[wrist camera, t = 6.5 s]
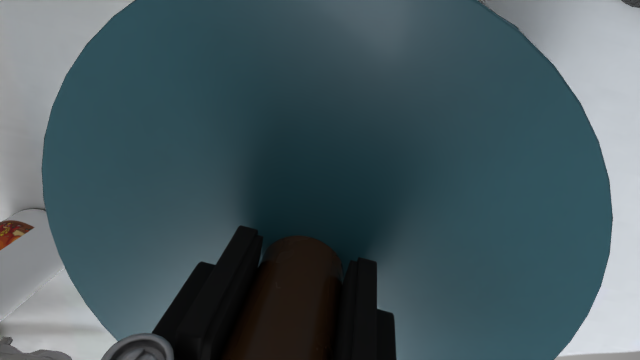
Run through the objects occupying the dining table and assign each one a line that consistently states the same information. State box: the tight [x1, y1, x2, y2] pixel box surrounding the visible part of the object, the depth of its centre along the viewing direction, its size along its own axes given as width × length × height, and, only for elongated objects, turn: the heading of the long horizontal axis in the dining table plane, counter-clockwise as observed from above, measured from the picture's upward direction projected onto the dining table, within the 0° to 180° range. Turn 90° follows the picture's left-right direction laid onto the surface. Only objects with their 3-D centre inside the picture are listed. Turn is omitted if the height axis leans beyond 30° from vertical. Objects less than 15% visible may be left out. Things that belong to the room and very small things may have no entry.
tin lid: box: [42, 0, 613, 360], centre depth 10 cm, size 17×17×6 cm
